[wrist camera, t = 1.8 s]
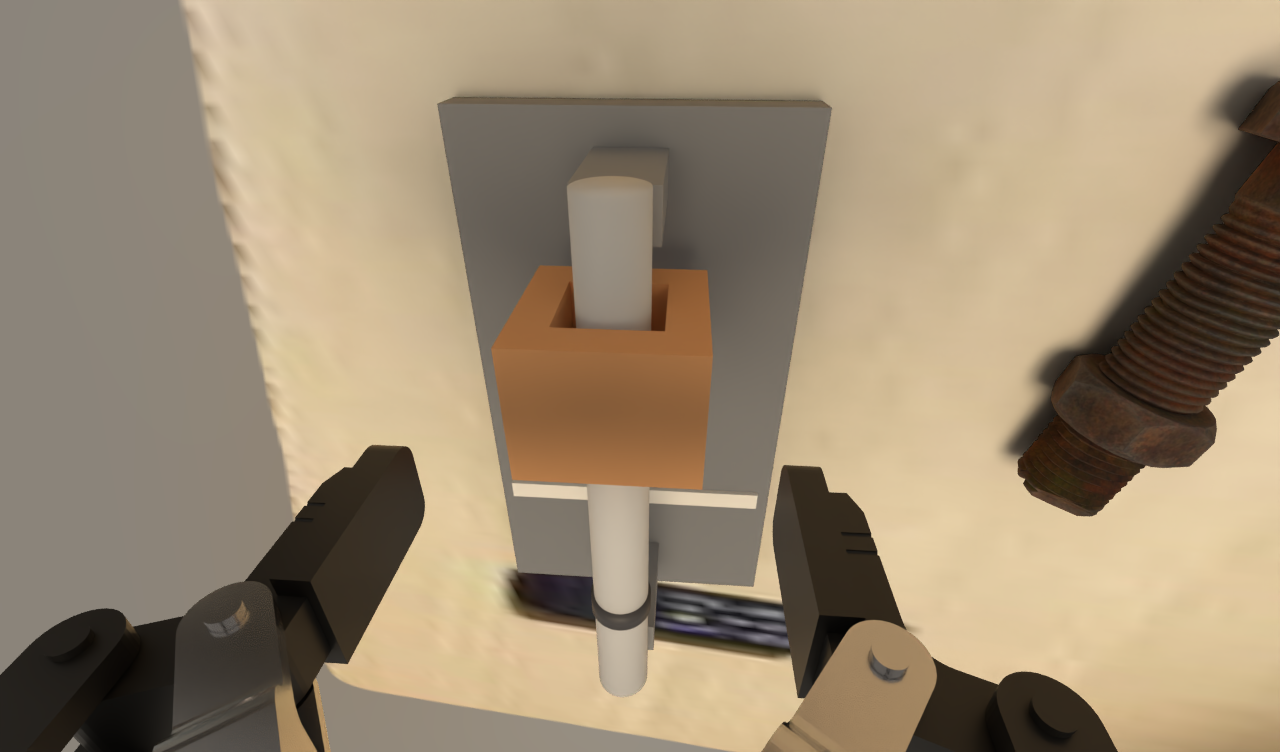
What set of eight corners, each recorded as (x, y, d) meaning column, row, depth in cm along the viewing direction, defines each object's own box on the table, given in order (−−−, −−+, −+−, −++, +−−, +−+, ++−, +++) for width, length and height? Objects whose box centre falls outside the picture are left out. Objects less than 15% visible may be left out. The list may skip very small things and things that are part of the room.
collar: (539, 265, 17) (491, 348, 13) (707, 270, 17) (712, 356, 13) (550, 377, 19) (511, 479, 15) (699, 383, 19) (702, 489, 15)
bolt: (995, 428, 27) (1265, 75, 18) (1114, 488, 25) (1476, 127, 17) (980, 495, 23) (1327, 73, 14) (1124, 573, 21) (1623, 143, 12)
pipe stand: (454, 97, 19) (323, 146, 12) (822, 100, 18) (900, 155, 12) (525, 549, 31) (478, 701, 24) (750, 562, 30) (768, 723, 23)
